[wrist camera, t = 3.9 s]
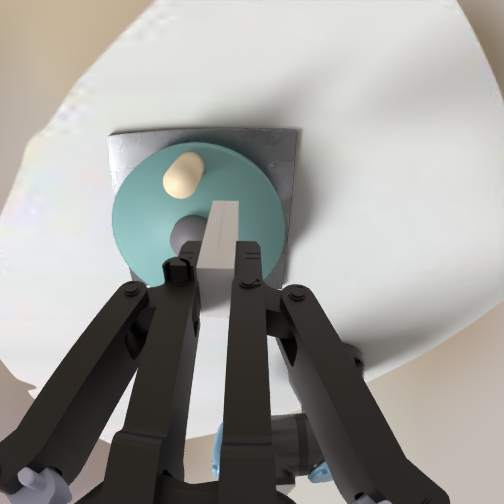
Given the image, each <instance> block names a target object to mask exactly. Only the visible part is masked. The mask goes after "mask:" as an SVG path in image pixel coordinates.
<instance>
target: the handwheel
mask: <svg viewBox="0 0 504 504" xmlns="http://www.w3.org/2000/svg"><path fill="white" fill-rule="evenodd" d="M213 201H239V220H238V241H256V242H257V243H258V244H259V245H260V247H261V263H262V278H263V280H264V279H265V278H266V277H267V276H268V275H269V274H270V272H271V271H272V269H273V268H274V267H275V265H276V263H277V261H278V259H279V257H280V255H281V252H282V249H283V245H284V239H285V222H284V215H283V211H282V207H281V203H280V200H279V197H278V195H277V192H276V190H275V188H274V186H273V185H272V183H271V182H270V180H269V179H268V177H267V176H266V175H265V174H264V173H263V171H262V170H261V169H260V168H259V167H258V166H256V165H255V164H254V163H253V162H252V161H250V160H249V159H247V158H246V157H244V156H243V155H241V154H239V153H237V152H235V151H233V150H231V149H229V148H226V147H222V146H219V145H215V144H209V143H199V142H191V143H181V144H177V145H172V146H169V147H166V148H164V149H161V150H159V151H157V152H155V153H153V154H152V155H150V156H148V157H147V158H146V159H145V160H143V161H142V162H141V163H140V164H138V165H137V166H136V167H135V168H134V169H133V170H132V171H131V172H130V173H129V174H128V176H127V177H126V178H125V180H124V181H123V183H122V184H121V186H120V188H119V190H118V192H117V194H116V198H115V201H114V204H113V211H112V227H113V234H114V238H115V241H116V244H117V247H118V249H119V251H120V253H121V255H122V257H123V259H124V260H125V262H126V263H127V264H128V266H129V267H130V268H131V270H132V271H133V272H134V273H135V274H136V275H137V276H138V277H139V278H141V279H142V280H143V281H144V282H145V283H147V284H148V285H150V286H151V287H156V286H160V285H162V284H164V282H165V279H164V274H163V268H162V264H163V263H164V261H166V260H167V259H169V258H172V257H177V256H178V255H179V252H180V249H181V246H182V245H183V244H184V243H185V242H186V241H203V238H204V234H205V230H206V226H207V222H208V218H209V214H210V210H211V207H212V203H213Z"/></svg>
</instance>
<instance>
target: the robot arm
mask: <svg viewBox="0 0 504 504" xmlns="http://www.w3.org/2000/svg"><path fill="white" fill-rule="evenodd" d="M238 220H239V201H213V203H212V207H211V210H210V214H209V218H208V222H207V226H206V230H205V234H204V238H203V241H186V242H185V243H184V244H183V245H182V246H181V249H180V252H179V255H178V256H177V257H172V258H169V259H167V260H166V261H164V263H163V264H162V268H163V274H164V279H165V282H164V284H162V285H160V286H156V287H151V288H147V287H146V285H145V284H144V283H143V282H140V281H129V282H127V283H124V284H123V285H122V286H120V287H119V288H118V290H117V291H116V292H115V293H114V294H113V296H112V297H111V298H110V299H109V301H108V302H107V303H106V304H105V305H104V307H103V308H102V309H101V310H100V312H99V313H98V314H97V315H96V317H95V318H94V319H93V321H92V322H91V323H90V324H89V326H88V327H87V328H86V330H85V331H84V332H83V333H82V335H81V336H80V337H79V339H78V340H77V341H76V343H75V344H74V345H73V347H72V348H71V349H70V351H69V352H68V353H67V355H66V356H65V358H64V359H63V360H62V362H61V363H60V364H59V366H58V367H57V369H56V370H55V371H54V373H53V374H52V376H51V377H50V379H49V380H48V381H47V383H46V384H45V386H44V387H43V389H42V390H41V392H40V393H39V395H38V396H37V398H36V399H35V401H34V402H33V404H32V406H31V407H30V409H29V410H28V411H27V413H26V415H25V416H24V418H23V419H22V421H21V423H20V424H19V426H18V427H17V429H16V430H15V431H13V432H12V433H11V434H10V435H9V436H7V437H6V438H5V439H4V440H2V441H1V442H0V492H2V493H4V494H6V496H7V497H8V499H9V500H10V502H11V503H12V504H67V503H69V502H71V500H72V494H71V492H70V490H69V487H68V486H69V485H70V484H71V483H72V482H73V481H74V479H75V478H76V477H77V476H78V474H79V473H80V471H81V470H82V468H83V466H84V465H85V463H86V461H87V459H88V457H89V455H90V453H91V452H92V450H93V448H94V446H95V444H96V442H97V440H98V438H99V437H100V435H101V433H102V431H103V429H104V427H105V425H106V424H107V422H108V420H109V418H110V416H111V415H112V413H113V411H114V409H115V407H116V405H117V404H118V402H119V400H120V398H121V397H122V395H123V393H124V391H125V389H126V388H127V386H128V384H129V382H130V381H131V379H132V377H133V375H134V374H135V372H136V370H137V368H138V370H137V374H136V378H135V382H134V385H133V389H132V393H131V397H130V401H129V405H128V409H127V413H126V418H125V422H124V426H123V428H122V430H120V431H118V432H116V433H115V435H114V437H113V440H112V443H111V448H110V452H109V457H108V462H107V467H106V472H105V477H104V481H103V482H101V483H100V484H99V485H98V486H96V487H95V488H94V489H92V490H91V491H90V492H89V493H87V494H86V495H85V496H83V497H82V498H81V499H80V500H78V501H77V502H76V503H74V504H296V503H295V502H294V501H293V500H292V499H290V498H289V497H288V496H287V495H288V493H289V492H290V491H291V490H292V489H293V488H294V487H295V477H296V476H304V475H308V479H309V480H310V481H311V482H312V483H319V482H328V481H332V480H334V482H335V484H336V486H337V488H338V490H339V492H340V493H341V495H342V496H343V498H344V499H345V501H346V502H347V504H450V500H449V496H448V495H447V493H446V492H445V491H444V490H443V489H442V488H440V487H439V486H438V485H437V484H435V483H434V482H433V481H432V480H431V479H430V478H429V477H427V476H426V475H425V474H424V473H423V472H422V471H420V470H419V469H418V468H417V467H416V466H415V465H413V464H412V463H411V462H410V461H409V460H408V459H407V458H406V457H405V455H404V453H403V451H402V449H401V447H400V445H399V444H398V442H397V440H396V438H395V437H394V434H393V432H392V431H391V429H390V427H389V425H388V423H387V421H386V419H385V418H384V416H383V414H382V412H381V410H380V408H379V407H378V405H377V403H376V401H375V399H374V398H373V396H372V394H371V392H370V390H369V389H368V387H367V385H366V383H365V381H364V369H365V365H364V360H363V357H362V354H361V352H360V351H359V350H358V349H357V348H355V347H354V346H351V345H347V344H343V343H342V341H341V340H340V338H339V336H338V334H337V333H336V331H335V329H334V328H333V326H332V324H331V323H330V321H329V319H328V318H327V316H326V314H325V312H324V311H323V309H322V307H321V306H320V304H319V302H318V301H317V299H316V297H315V296H314V294H313V292H312V291H311V290H310V289H309V288H307V287H305V286H303V285H298V284H292V285H289V286H286V287H285V288H283V290H282V291H281V290H277V289H274V288H271V287H269V286H268V285H267V284H265V282H264V281H263V278H262V263H261V247H260V245H259V244H258V243H257V242H256V241H238ZM200 310H201V316H213V317H229V331H228V346H227V362H226V378H225V396H224V414H223V422H222V423H221V425H220V427H219V429H218V432H217V434H216V438H215V443H214V448H213V457H212V463H213V468H212V470H213V475H214V477H215V478H218V479H219V481H213V482H206V483H199V484H189V483H186V482H184V466H183V456H184V445H185V437H186V428H187V419H188V411H189V403H190V395H191V387H192V380H193V372H194V365H195V358H196V351H197V344H198V337H199V330H200V318H199V316H200ZM267 335H270V336H273V337H276V341H277V344H278V346H279V349H280V351H281V353H282V356H283V358H284V361H285V363H286V366H287V368H288V375H289V382H290V385H291V387H292V389H293V391H294V393H295V394H296V396H297V398H298V400H299V402H300V404H301V407H302V413H300V414H287V415H273V416H271V409H270V388H269V368H268V348H267Z"/></svg>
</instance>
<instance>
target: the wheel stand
mask: <svg viewBox="0 0 504 504" xmlns="http://www.w3.org/2000/svg"><path fill="white" fill-rule="evenodd" d="M296 140H297V131H294V130H278V129H254V128H195V129H171V130H155V131H142V132H131V133H122V134H113V135H108V136H107V141H108V151H109V159H110V167H111V174H112V181H113V188H114V194H115V198H116V194H117V192H118V190H119V188H120V186H121V184H122V183H123V181H124V180H125V178H126V177H127V176H128V174H129V173H130V172H131V171H132V170H133V169H134V168H135V167H136V166H137V165H138V164H140V163H141V162H142V161H143V160H145V159H146V158H147V157H148V156H150V155H152V154H153V153H155V152H157V151H159V150H161V149H164V148H166V147H169V146H172V145H177V144H181V143H191V142H199V143H209V144H215V145H219V146H222V147H226V148H229V149H231V150H233V151H235V152H237V153H239V154H241V155H243V156H244V157H246V158H247V159H249V160H250V161H252V162H253V163H254V164H255V165H256V166H258V167H259V168H260V169H261V170H262V171H263V173H264V174H265V175H266V176H267V177H268V179H269V180H270V182H271V183H272V185H273V186H274V188H275V190H276V192H277V195H278V197H279V200H280V203H281V207H282V211H283V215H284V222H285V239H284V245H283V249H282V252H281V255H280V257H279V259H278V261H277V263H276V265H275V267H274V268H273V269H272V271H271V272H270V274H269V275H268V276H267V277H266V278H265V279H264V280H263V281H264V282H265V284H267V285H268V286H269V287H271V288H274V289H282V284H283V275H284V266H285V257H286V248H287V239H288V229H289V219H290V209H291V199H292V188H293V176H294V165H295V153H296ZM129 269H130V273H131V277H132V281H140V282H143V283H144V284H145V285H148V284H147V283H145V282H144V281H143V280H142V279H141V278H139V277H138V276H137V275H136V274H135V273H134V272H133V271H132V270H131V268H130V267H129Z"/></svg>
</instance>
